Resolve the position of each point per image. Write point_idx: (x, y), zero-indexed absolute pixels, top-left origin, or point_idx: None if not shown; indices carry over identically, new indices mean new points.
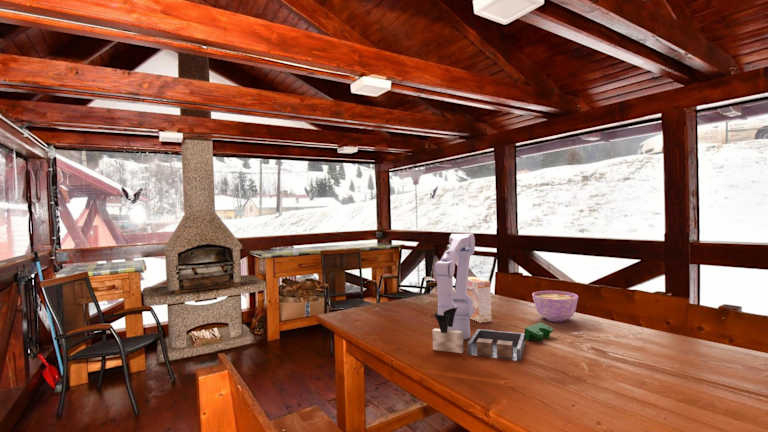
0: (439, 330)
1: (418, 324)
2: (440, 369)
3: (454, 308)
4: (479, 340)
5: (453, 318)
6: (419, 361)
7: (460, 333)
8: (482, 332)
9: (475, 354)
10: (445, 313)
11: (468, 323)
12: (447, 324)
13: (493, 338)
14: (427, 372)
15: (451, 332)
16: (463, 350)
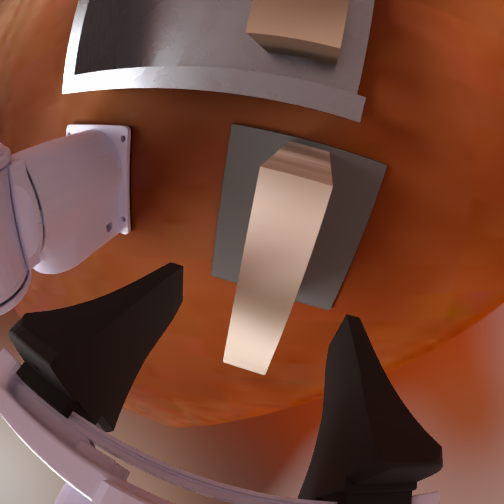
0: (264, 344)
1: (59, 306)
2: (475, 263)
3: (56, 377)
4: (305, 25)
5: (131, 298)
6: (388, 333)
7: (331, 190)
8: (84, 61)
9: (344, 74)
10: (348, 492)
11: (40, 150)
12: (378, 374)
13: (113, 12)
14: (482, 304)
15: (304, 271)
16: (288, 142)
